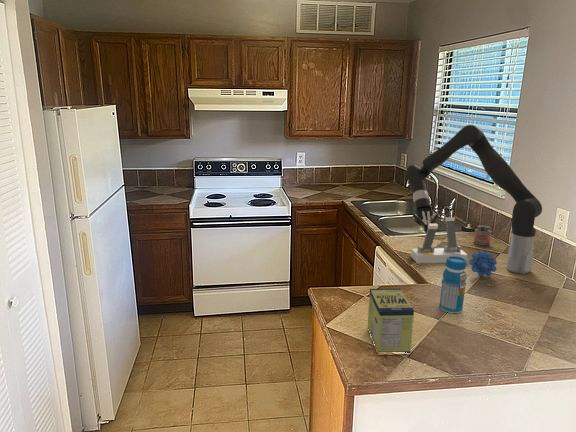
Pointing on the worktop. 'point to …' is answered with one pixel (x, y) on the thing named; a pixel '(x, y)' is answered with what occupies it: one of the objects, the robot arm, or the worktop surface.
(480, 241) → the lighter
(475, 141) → the robot arm
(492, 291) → the worktop surface
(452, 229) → the lever grey
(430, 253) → the console
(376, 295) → the protein box
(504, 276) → the worktop surface
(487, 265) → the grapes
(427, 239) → the lever amber
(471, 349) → the worktop surface
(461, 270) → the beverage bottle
